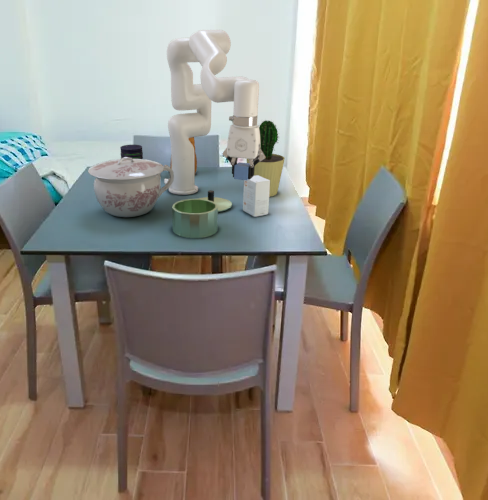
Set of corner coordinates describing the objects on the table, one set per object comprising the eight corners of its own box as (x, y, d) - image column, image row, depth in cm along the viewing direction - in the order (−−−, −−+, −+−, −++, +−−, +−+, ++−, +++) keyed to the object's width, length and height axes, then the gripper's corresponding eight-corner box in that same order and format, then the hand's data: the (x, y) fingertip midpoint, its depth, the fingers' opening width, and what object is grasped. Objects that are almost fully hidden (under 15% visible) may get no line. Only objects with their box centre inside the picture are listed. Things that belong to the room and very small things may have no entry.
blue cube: (233, 179, 160) (234, 165, 159) (238, 175, 164) (238, 162, 162) (247, 180, 159) (247, 167, 157) (251, 176, 162) (251, 163, 161)
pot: (165, 234, 164) (164, 210, 160) (184, 219, 176) (183, 196, 173) (207, 241, 158) (207, 216, 154) (223, 225, 171) (224, 202, 167)
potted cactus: (237, 193, 202) (239, 119, 190) (257, 184, 213) (261, 114, 200) (269, 201, 193) (274, 124, 181) (289, 191, 204) (294, 118, 191)
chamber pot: (77, 219, 177) (71, 163, 169) (115, 196, 201) (111, 146, 192) (147, 229, 168) (144, 170, 159) (178, 204, 191) (176, 151, 182)
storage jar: (127, 184, 216) (125, 150, 210) (119, 178, 224) (116, 146, 218) (147, 180, 221) (146, 147, 214) (138, 175, 228) (137, 143, 222)
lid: (182, 210, 185) (182, 195, 182) (199, 197, 198) (199, 183, 196) (223, 216, 179) (223, 200, 176) (237, 202, 192) (238, 187, 189)
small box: (268, 214, 180) (270, 180, 174) (254, 217, 177) (255, 182, 172) (256, 207, 186) (258, 174, 181) (242, 210, 184) (243, 176, 178)
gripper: (215, 121, 154) (214, 177, 161) (267, 125, 147) (264, 183, 155) (224, 117, 160) (222, 171, 168) (274, 121, 154) (270, 177, 161)
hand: (242, 176), depth 161 cm, fingers closed on blue cube, 4 cm apart
